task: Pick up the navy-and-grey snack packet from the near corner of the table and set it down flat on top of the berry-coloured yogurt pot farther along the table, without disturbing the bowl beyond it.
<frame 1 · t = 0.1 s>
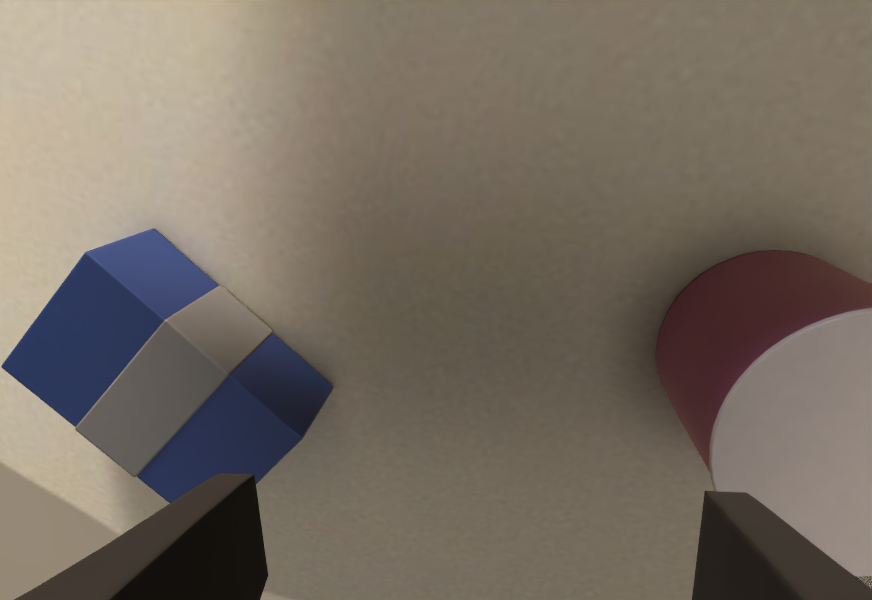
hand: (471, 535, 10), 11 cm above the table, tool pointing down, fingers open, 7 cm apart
packet: (204, 356, 21), on the table
yogurt: (760, 348, 19), on the table
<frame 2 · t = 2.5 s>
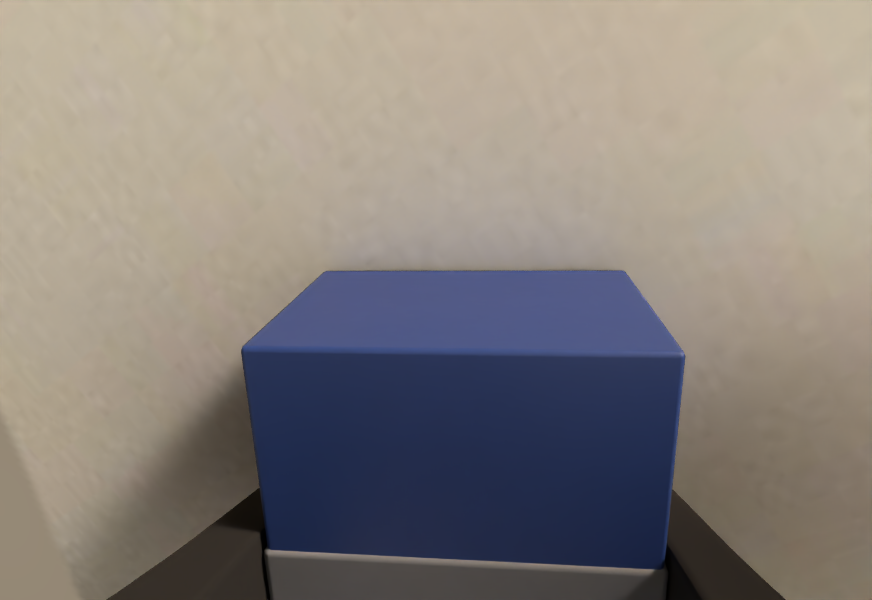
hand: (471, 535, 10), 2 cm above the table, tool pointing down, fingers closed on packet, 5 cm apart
packet: (473, 479, 11), on the table, touching gripper
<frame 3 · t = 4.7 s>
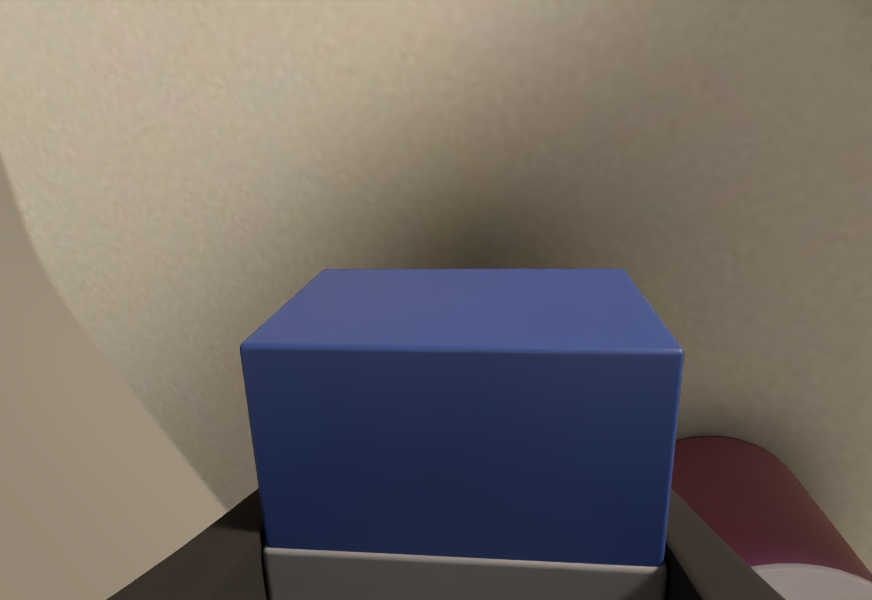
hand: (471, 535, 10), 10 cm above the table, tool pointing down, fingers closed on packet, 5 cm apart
packet: (472, 477, 11), point 8 cm above the table, touching gripper
yogurt: (703, 520, 20), on the table
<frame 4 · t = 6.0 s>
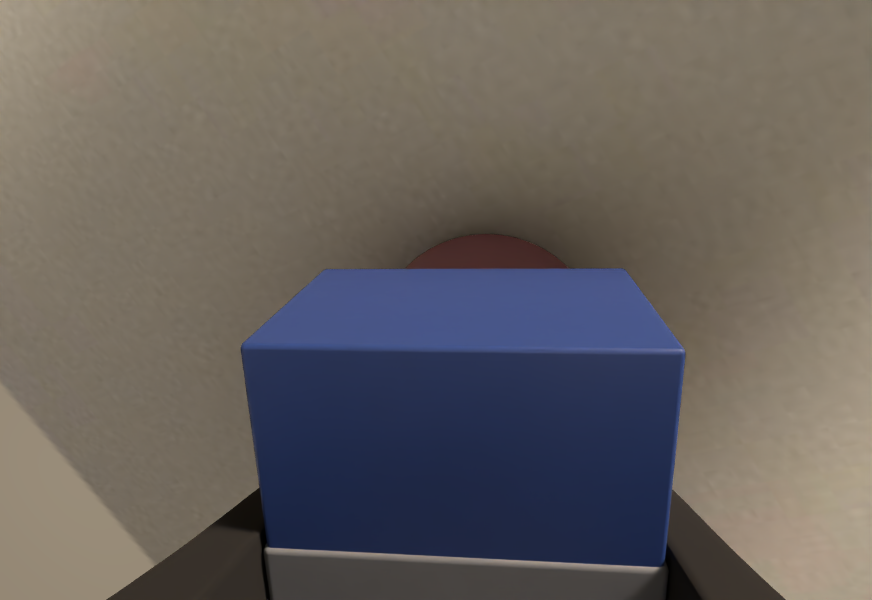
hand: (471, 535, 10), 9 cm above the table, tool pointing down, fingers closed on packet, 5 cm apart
packet: (473, 477, 11), point 7 cm above the table, touching gripper
yogurt: (486, 340, 18), on the table
when the fingers open (8 cm above the table, at t = 6.8 s): packet stays where it is, resting on yogurt.
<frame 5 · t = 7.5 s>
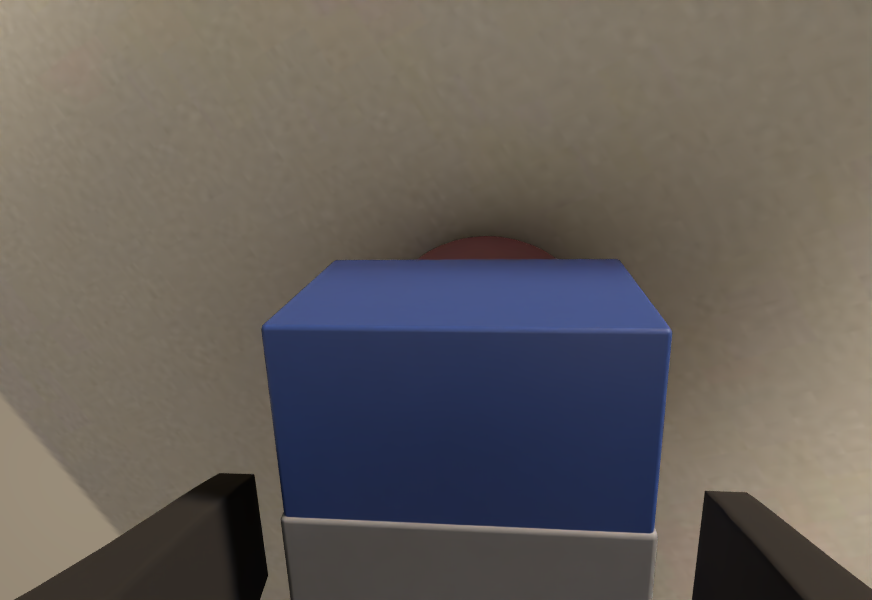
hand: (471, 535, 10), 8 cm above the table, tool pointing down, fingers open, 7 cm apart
packet: (475, 458, 12), point 6 cm above the table, touching yogurt
yogurt: (486, 343, 18), on the table, touching packet
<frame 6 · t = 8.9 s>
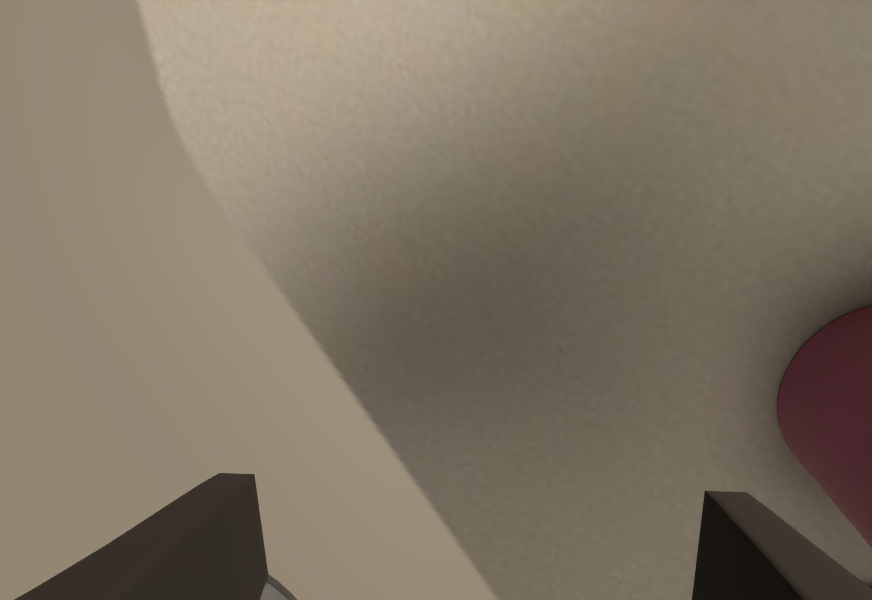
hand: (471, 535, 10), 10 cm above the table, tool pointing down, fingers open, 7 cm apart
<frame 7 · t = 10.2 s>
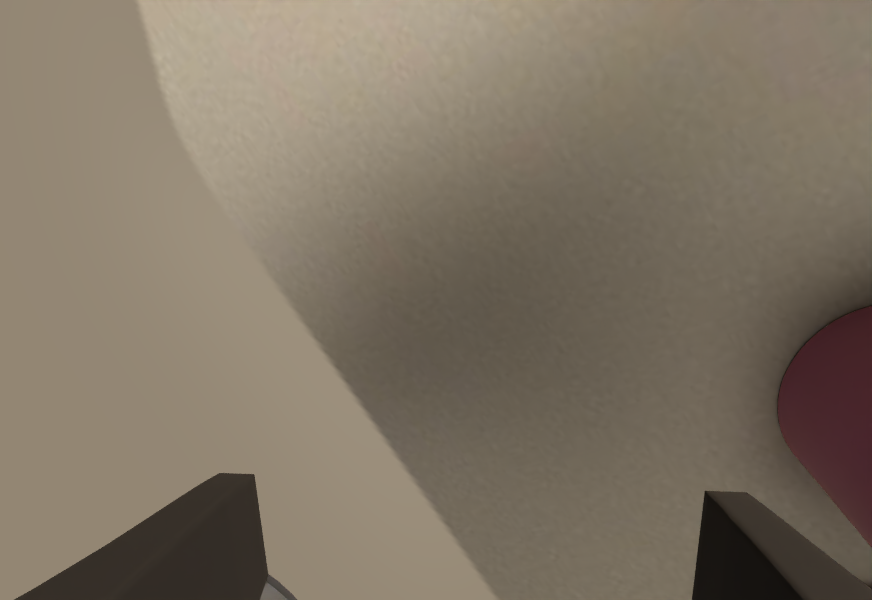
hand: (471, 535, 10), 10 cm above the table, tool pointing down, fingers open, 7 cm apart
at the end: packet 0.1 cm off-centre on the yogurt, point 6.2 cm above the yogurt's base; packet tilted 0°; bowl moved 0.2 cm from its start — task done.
